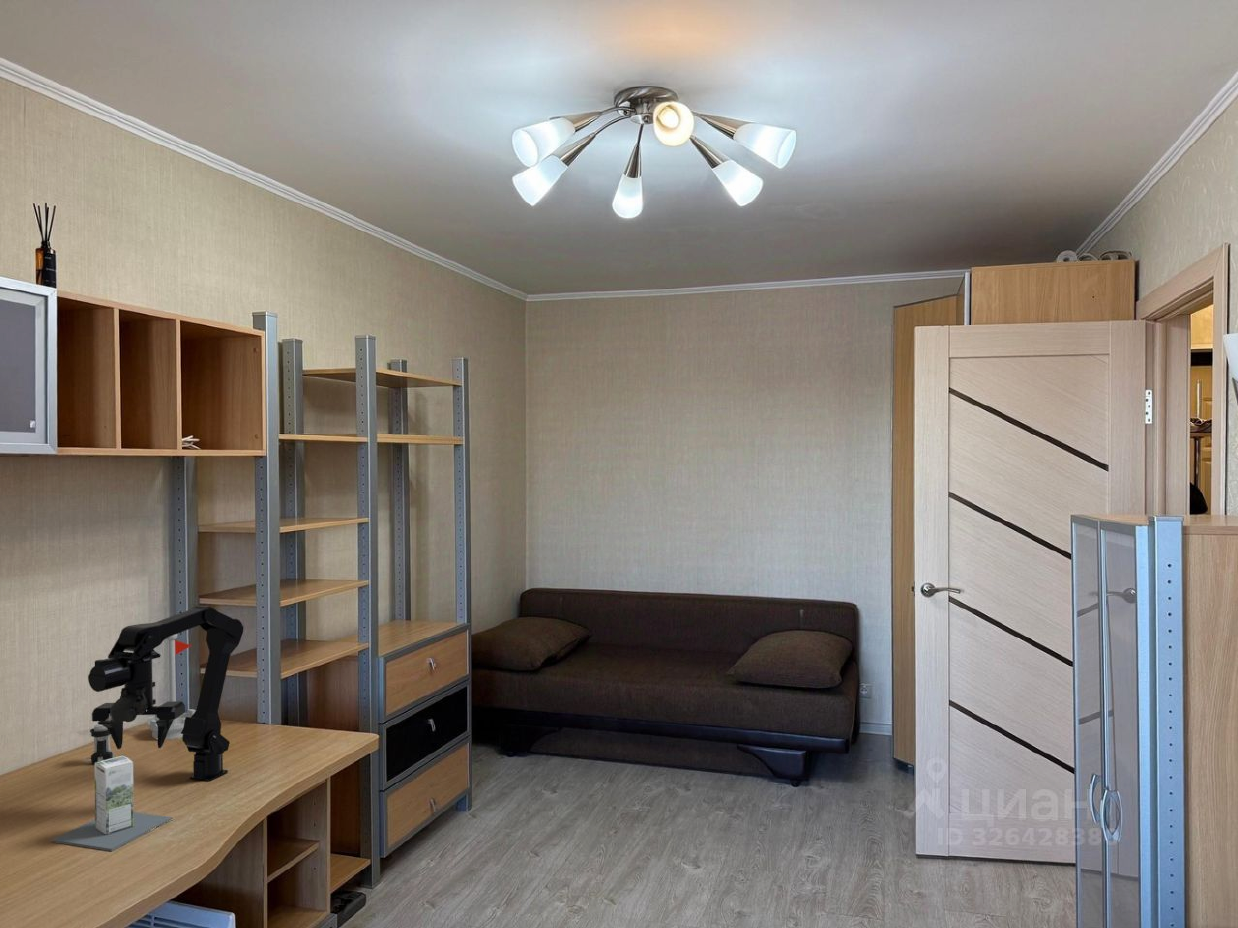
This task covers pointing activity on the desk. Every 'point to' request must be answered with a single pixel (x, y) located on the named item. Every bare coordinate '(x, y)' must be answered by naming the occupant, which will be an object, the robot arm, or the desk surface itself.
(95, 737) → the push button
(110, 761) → the syrup box
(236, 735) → the desk surface
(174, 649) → the flag stand
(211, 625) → the robot arm
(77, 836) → the slate mat
